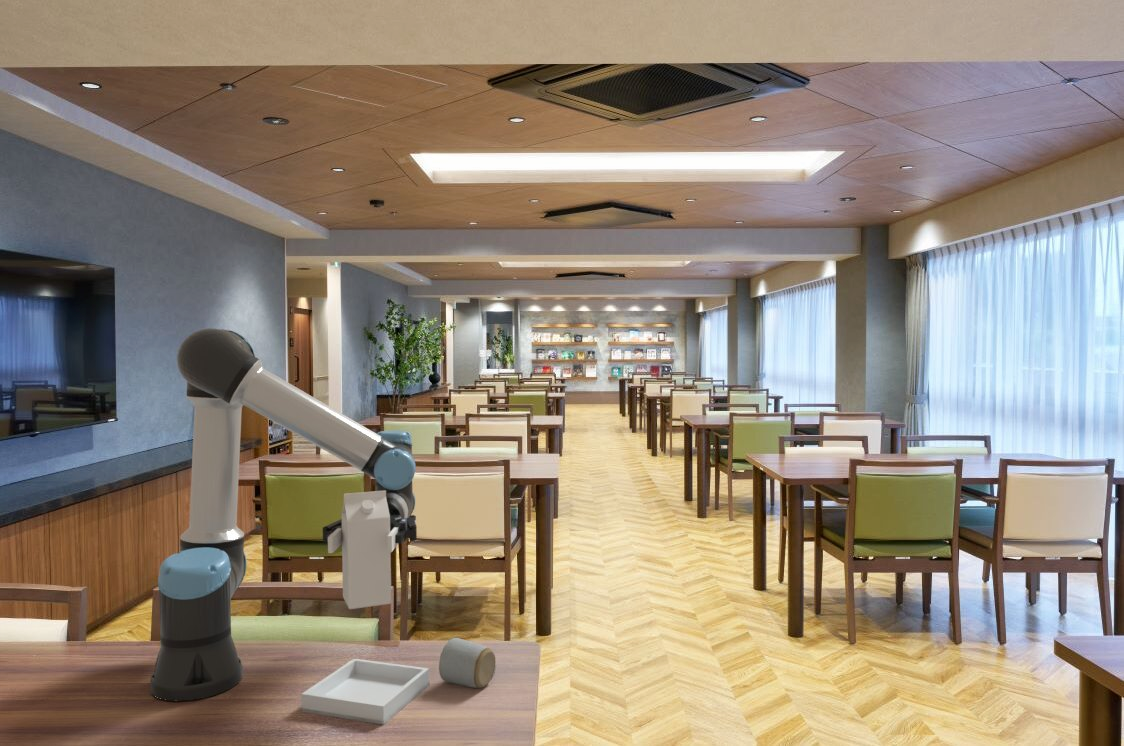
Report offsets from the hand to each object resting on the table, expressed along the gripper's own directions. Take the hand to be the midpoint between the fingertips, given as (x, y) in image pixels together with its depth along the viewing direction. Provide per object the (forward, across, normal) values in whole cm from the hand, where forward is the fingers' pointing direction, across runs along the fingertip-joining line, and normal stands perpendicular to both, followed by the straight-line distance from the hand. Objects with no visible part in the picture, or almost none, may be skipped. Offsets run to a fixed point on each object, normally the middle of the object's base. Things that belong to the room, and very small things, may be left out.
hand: (359, 544), depth 130 cm
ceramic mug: (-11, -17, -28) cm, 35 cm away
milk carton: (-5, 0, -11) cm, 12 cm away
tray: (-4, 0, -28) cm, 28 cm away
